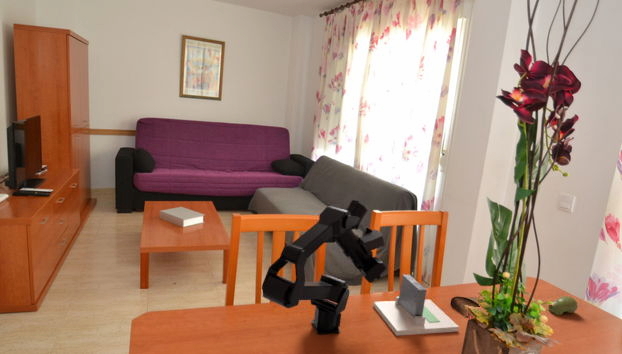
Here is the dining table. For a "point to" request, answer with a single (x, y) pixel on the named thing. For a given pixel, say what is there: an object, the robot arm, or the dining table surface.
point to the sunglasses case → (461, 301)
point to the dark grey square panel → (412, 296)
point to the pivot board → (415, 318)
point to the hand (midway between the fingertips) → (379, 278)
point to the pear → (563, 305)
